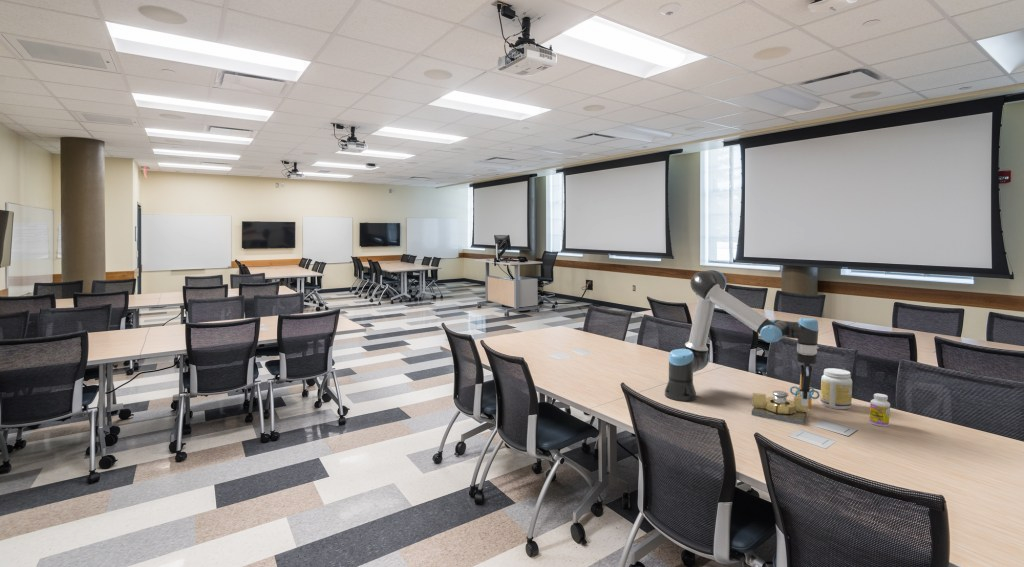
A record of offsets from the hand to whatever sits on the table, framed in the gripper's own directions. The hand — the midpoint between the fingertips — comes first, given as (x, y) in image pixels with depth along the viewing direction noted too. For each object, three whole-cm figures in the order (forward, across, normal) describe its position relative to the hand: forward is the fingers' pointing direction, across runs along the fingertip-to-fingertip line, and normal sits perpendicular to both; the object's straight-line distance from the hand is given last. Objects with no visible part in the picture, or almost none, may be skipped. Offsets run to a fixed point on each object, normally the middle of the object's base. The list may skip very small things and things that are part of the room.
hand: (804, 405), depth 208 cm
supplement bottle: (+6, +5, -28) cm, 29 cm away
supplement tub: (+5, +23, -15) cm, 28 cm away
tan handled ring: (+3, 0, +10) cm, 10 cm away
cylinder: (+5, +16, -1) cm, 17 cm away
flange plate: (+6, 0, +10) cm, 11 cm away
